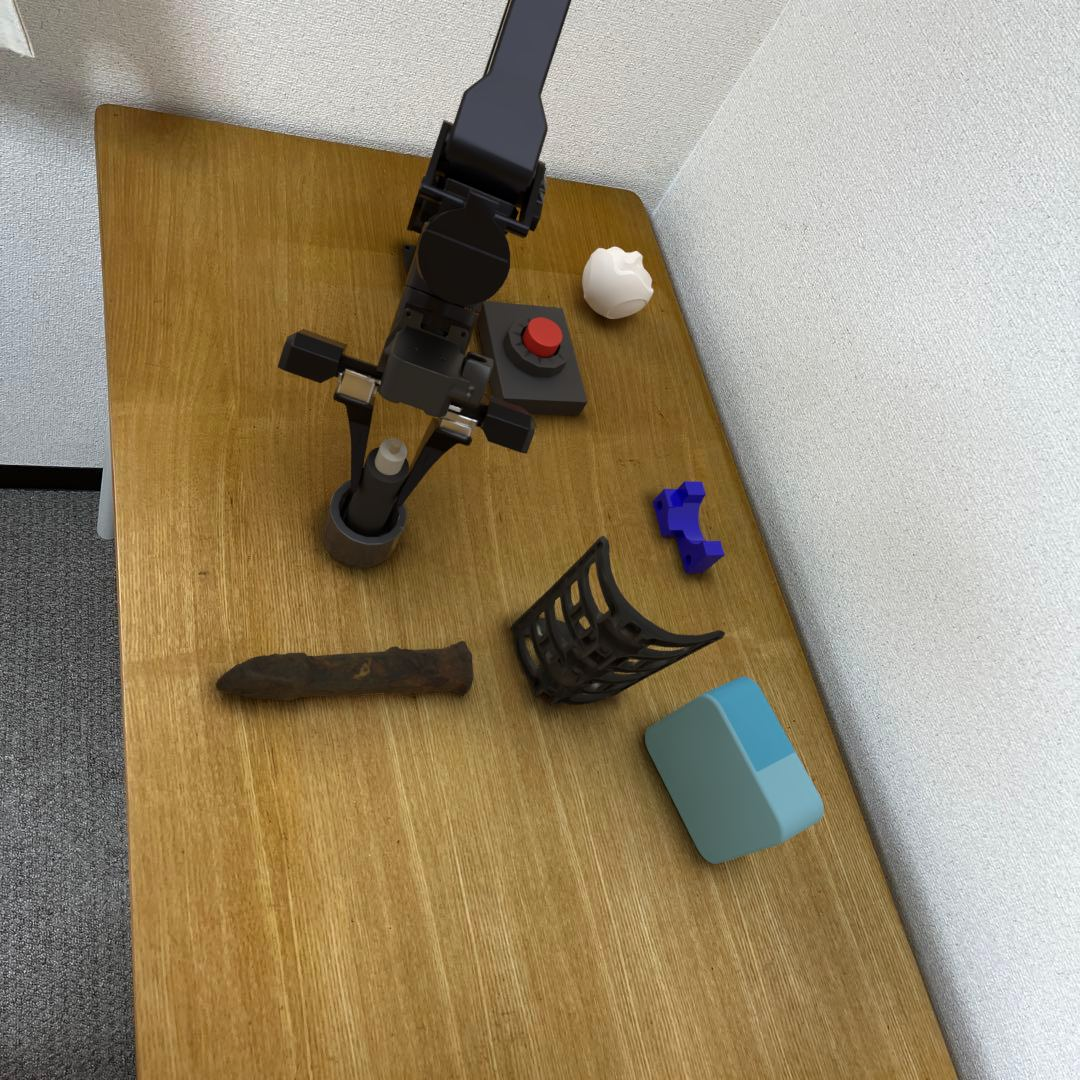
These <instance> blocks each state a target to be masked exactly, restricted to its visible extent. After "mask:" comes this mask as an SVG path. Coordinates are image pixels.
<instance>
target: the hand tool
mask: <svg viewBox="0 0 1080 1080" xmlns="http://www.w3.org/2000/svg"><path fill="white" fill-rule="evenodd" d="M473 682H474V666H473V653H472V652H471V650H470V648H469V647H468V645H467V643H466V640H461V641H458V642H456V643H454V644H450V646H446V647H441V648H425V649H412V648H411V649H409V648H405V647H404V648H400V647H399V646H397V645H395V646H390V647H389V648H388V649H386V650H384V651H371V652H368V651H366V652H353V653H352V652H351V653H336V654H322V655H321V654H320V655H308V654H307V653H306V652H302V651H301V652H299V651H298V652H287V653H284V654H283V653H272V654H268V655H267V654H265V655H259V656H254V657H251V658H248V659H247V660H245V661H242V662H241V663H238V664H237V663H236V665H234V666H233V667H231V668H230V669H229V670H226V672H224V673H223V674H222V675H221V676H219V678H218V679H217V681H216V683H215V687H216V688H215V689H217V690H218V691H219V692H222V693H225V694H229V695H232V696H239V697H242V698H243V697H244V698H252V699H255V700H262V699H263V700H272V701H283V702H288V701H294V700H296V699H299V698H304V697H340V696H351V697H353V696H354V697H357V696H366V695H381V694H385V695H393V694H394V695H395V694H396V695H401V694H402V695H409V694H414V693H424V692H438V691H439V692H440V691H441V692H443V691H445V692H447V691H448V692H449V691H450V692H454V693H456V694H457V695H458V696H460V697H462V698H464V697H465V695H466V694H467V693H469V692H470V690H471V689H472V685H473Z"/></svg>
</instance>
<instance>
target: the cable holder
mask: <svg viewBox="0 0 1080 1080" xmlns="http://www.w3.org/2000/svg"><path fill="white" fill-rule="evenodd" d="M706 496H707V493H706V489H705V486H704V483H703V481H692V480H691V481H688V480H686V481H683V482H682V483H681V485H680V486H678V488H663V490H662V491H660V492H659V494H658V495H657V496H655V498H654V499H653V500H652V502H651V503H652V505H653V509H654V512H655V516H656V519H657V522H658V527H659V530H660V534H661V537H662V538H675V540H676V543H677V544H676V545H677V547H678V550H679V551H678V552H679V554H680V557H681V561H682V564H683V568H684V571H685V574H692V575H693V574H705V573H706V572H707V571H708V570H709V569H710V568H711V567H713V566H714V565H715V564H717V562H718V561H720V560H721V559H722V558H724V557H725V552H724V548H723V545H722V541H721V540H706V539H705V537H704V535H703V533H702V531H701V528H700V521H699V519H700V517H699V515H700V508H701V506H702V505H701V504H702V502H703V500H704V498H705V497H706Z"/></svg>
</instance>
